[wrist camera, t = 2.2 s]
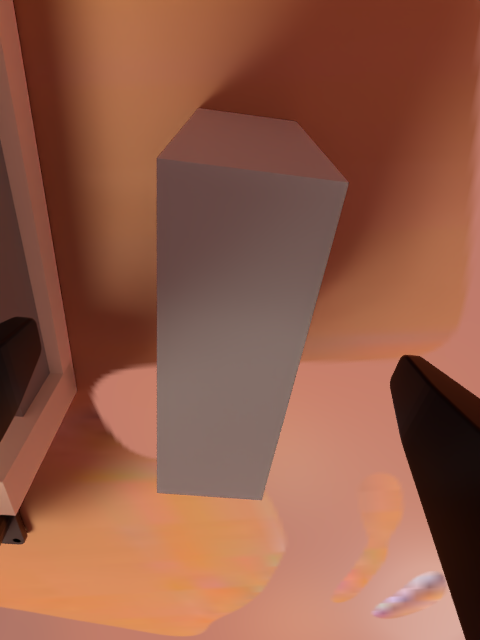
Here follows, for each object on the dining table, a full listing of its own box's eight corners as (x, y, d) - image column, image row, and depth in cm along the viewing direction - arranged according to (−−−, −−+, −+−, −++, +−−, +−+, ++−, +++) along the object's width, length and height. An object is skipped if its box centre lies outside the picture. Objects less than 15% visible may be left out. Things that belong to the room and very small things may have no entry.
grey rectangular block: (255, 348, 17) (263, 500, 11) (184, 341, 17) (155, 492, 11) (297, 121, 12) (352, 182, 6) (196, 107, 12) (153, 158, 6)
